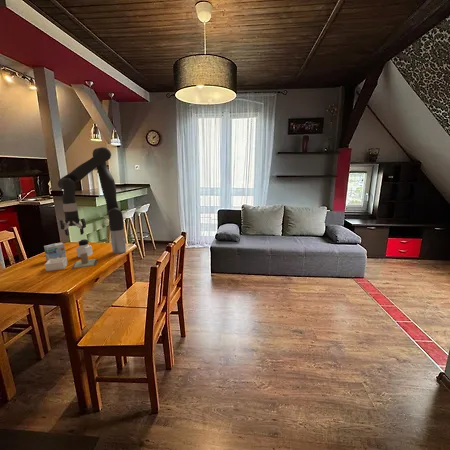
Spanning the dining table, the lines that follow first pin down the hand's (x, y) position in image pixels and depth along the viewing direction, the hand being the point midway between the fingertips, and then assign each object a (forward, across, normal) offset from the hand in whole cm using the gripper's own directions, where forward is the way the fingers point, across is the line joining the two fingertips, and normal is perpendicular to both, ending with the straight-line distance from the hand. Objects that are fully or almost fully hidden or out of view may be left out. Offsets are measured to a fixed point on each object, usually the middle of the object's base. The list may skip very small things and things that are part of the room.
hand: (74, 234), depth 164 cm
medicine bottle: (+20, +2, -16) cm, 25 cm away
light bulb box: (+20, +20, -12) cm, 31 cm away
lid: (+19, -4, +3) cm, 20 cm away
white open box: (+20, +11, +6) cm, 23 cm away
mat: (+20, -4, +3) cm, 20 cm away
